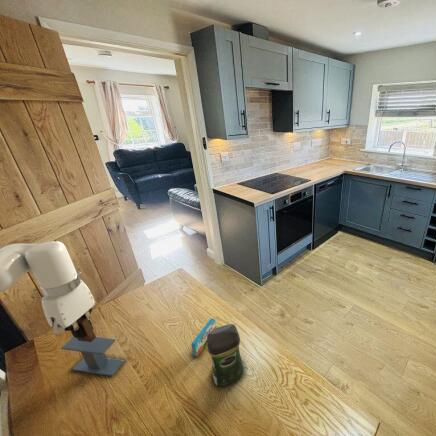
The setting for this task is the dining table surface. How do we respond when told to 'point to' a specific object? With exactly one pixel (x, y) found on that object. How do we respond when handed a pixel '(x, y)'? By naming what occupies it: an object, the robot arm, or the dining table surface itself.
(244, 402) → the dining table surface
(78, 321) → the domino
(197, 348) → the turquoise printed box
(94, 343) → the pedestal
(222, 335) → the coffee jar
